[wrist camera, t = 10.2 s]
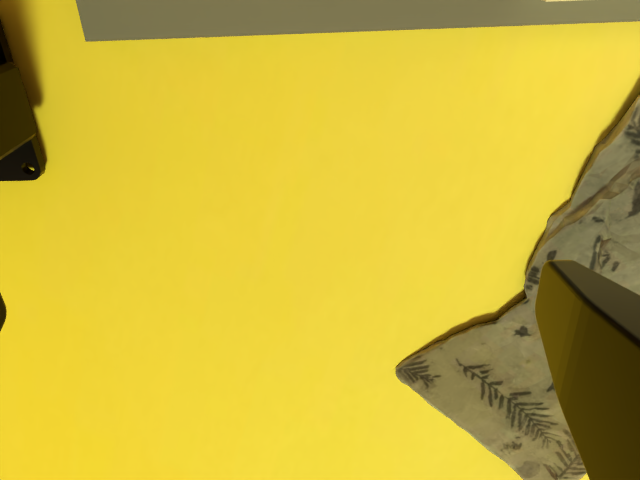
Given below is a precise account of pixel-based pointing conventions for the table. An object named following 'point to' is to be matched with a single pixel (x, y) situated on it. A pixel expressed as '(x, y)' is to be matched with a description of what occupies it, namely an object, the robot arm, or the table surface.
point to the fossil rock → (522, 329)
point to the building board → (330, 16)
